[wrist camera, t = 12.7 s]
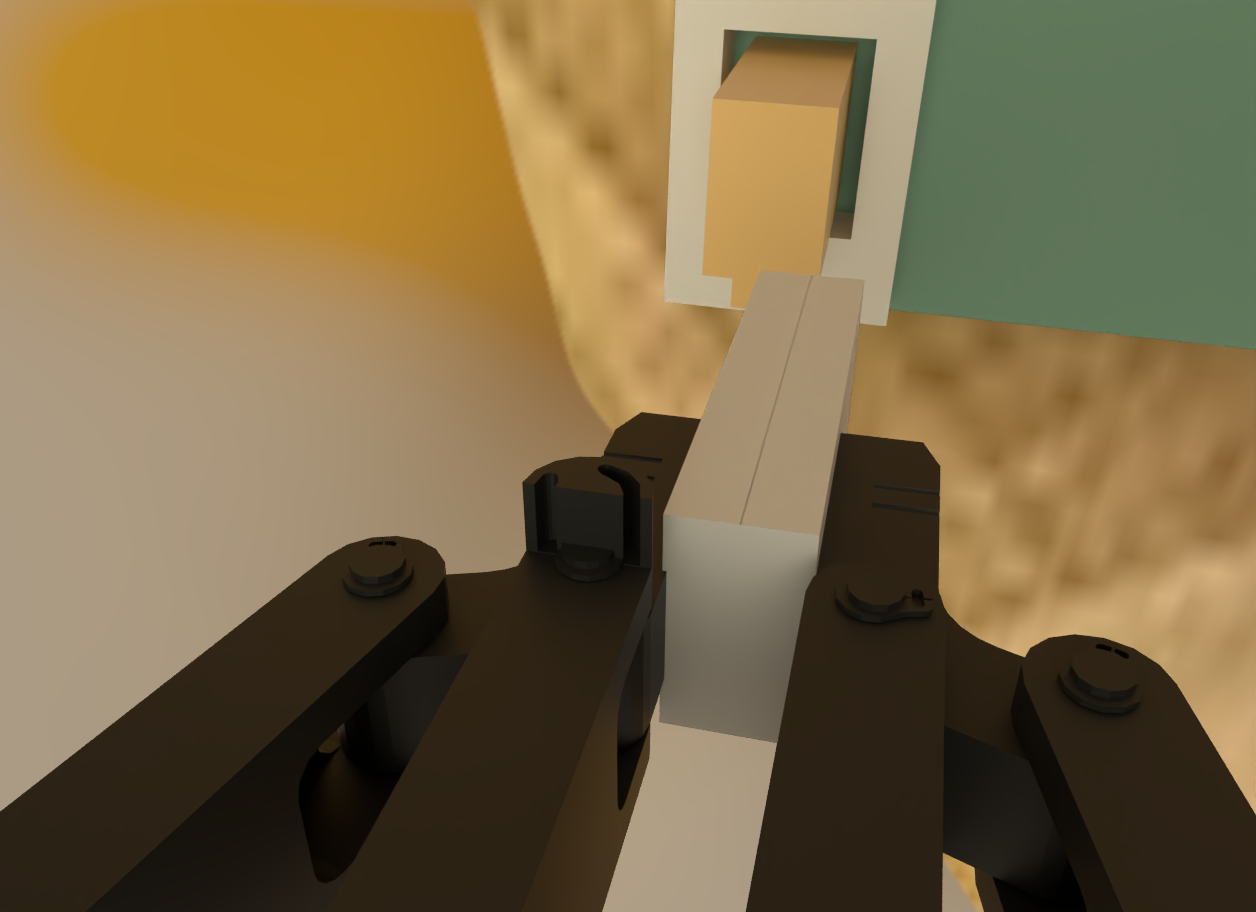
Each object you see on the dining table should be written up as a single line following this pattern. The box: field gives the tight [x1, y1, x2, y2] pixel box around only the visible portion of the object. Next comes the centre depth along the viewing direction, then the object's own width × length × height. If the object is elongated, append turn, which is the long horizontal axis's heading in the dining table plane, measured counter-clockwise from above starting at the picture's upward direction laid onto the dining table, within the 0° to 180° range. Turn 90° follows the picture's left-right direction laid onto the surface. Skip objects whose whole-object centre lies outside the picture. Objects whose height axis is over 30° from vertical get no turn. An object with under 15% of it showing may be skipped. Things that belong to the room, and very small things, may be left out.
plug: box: [702, 36, 858, 309], centre depth 31 cm, size 3×5×8 cm, turn 178°
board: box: [664, 0, 1256, 350], centre depth 32 cm, size 21×12×4 cm, turn 88°
